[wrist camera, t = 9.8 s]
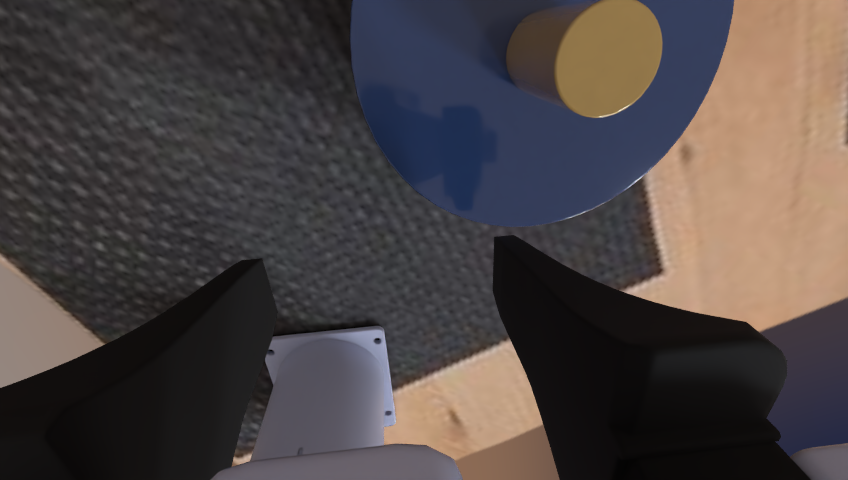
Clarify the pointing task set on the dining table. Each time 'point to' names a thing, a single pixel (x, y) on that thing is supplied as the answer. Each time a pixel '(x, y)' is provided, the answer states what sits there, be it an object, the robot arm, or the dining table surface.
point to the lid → (531, 96)
